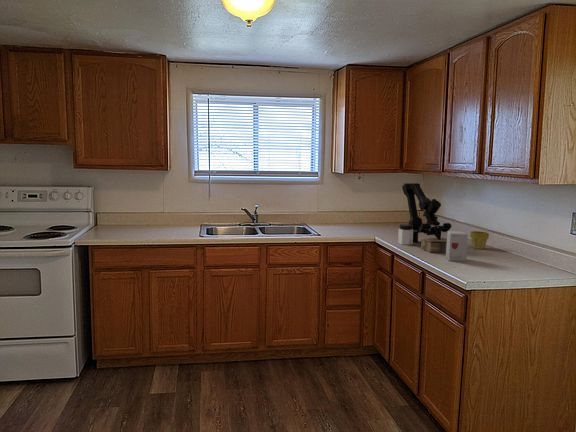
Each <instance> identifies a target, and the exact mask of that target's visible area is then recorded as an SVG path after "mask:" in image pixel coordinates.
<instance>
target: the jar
mask: <svg viewBox="0 0 576 432" xmlns="http://www.w3.org/2000/svg"><path fill="white" fill-rule="evenodd" d="M398 227H399V228H398V235H397V236H398V237H397V244H399V245H403V246H404V245H405V246H406V245H407V246H410V245H413V244H414V242H413V225H410V224H409V223H402V224H401V223H400V224H399V226H398Z"/></svg>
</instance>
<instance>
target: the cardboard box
mask: <svg viewBox="0 0 576 432" xmlns="http://www.w3.org/2000/svg"><path fill="white" fill-rule="evenodd" d="M446 246H447V242H429V241H426V240H422V239H420V250H422V249H423V251H424V252H427V251H428V252H427V253H430V254H439V253H440V254H441V253H442V252H446ZM442 254H443V253H442Z"/></svg>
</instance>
